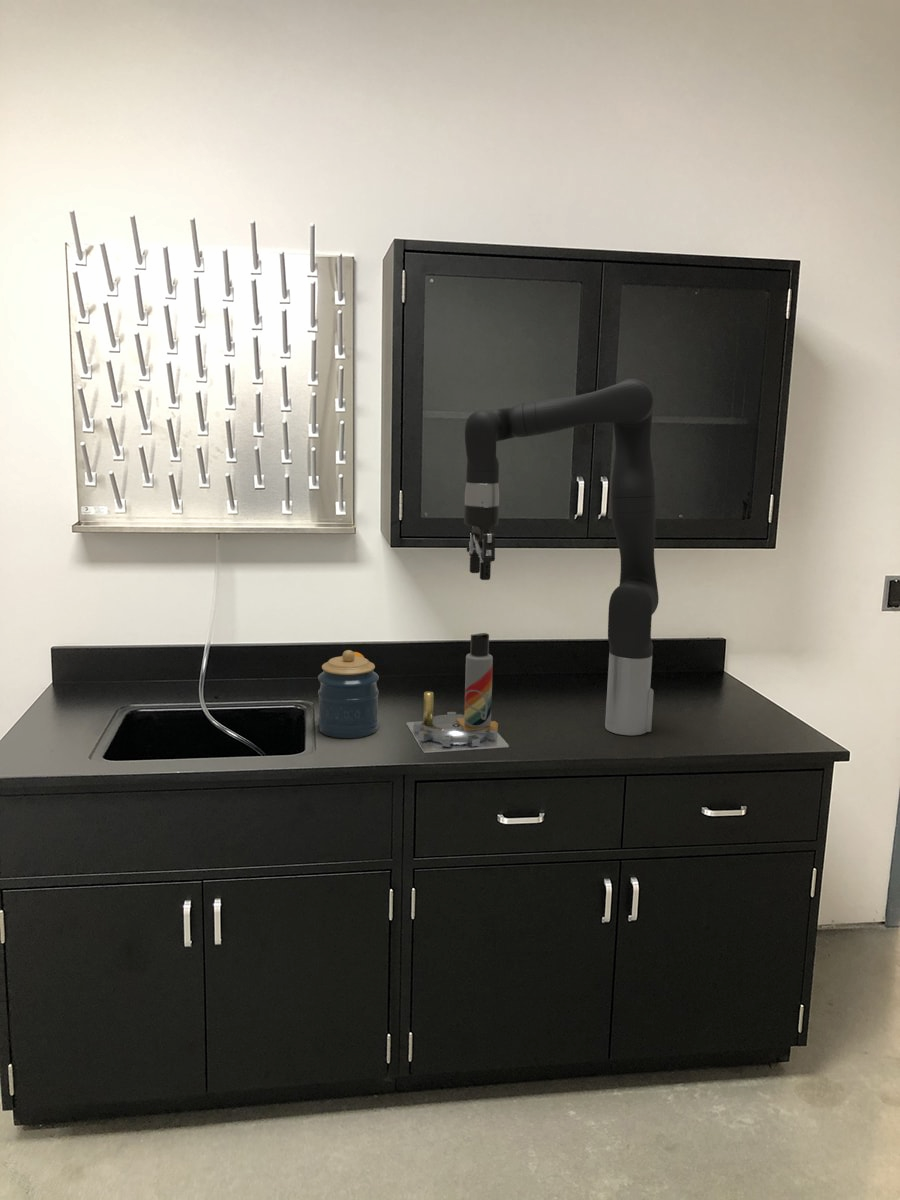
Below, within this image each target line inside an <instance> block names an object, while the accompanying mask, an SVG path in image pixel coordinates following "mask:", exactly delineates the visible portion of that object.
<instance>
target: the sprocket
mask: <svg viewBox="0 0 900 1200" xmlns="http://www.w3.org/2000/svg"><path fill="white" fill-rule="evenodd" d="M422 716H423V717H422V721H423V722H422V723H418V722H419V721H413V722H414V725H413V732H419V739H420V740H422V741H427V740H432V741H435V742H439V743H442V746H446V747H450V746H451V745H452V744H469V745H471V746H472V747H473V746H479V745H480V742H481V741H484V740H486V739H490V740H495V739H496V738H497V733H499V731H498V727H499V723H498V722H497V721H496V720H491V723H490V725H489V726H488V727H484V728H473V727H469V726H467V725H465V722H464V714H459V713H458V714H457V712H456V711H447V714H440V715H434V692H433V691H424V693H423V715H422Z"/></svg>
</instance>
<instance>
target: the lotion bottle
mask: <svg viewBox="0 0 900 1200" xmlns="http://www.w3.org/2000/svg"><path fill="white" fill-rule="evenodd" d="M489 647H490V635H489V633H487V632H482V633H481V632H480V633H475V634H470V653H467V654H466V656H465V677H464V678H465V679H464V681H465V682H464V683H465V684H464V710H463V711H464V714H463V715H464V722H465V725H467V726H469V727H473V728H484V727H488V726H489V725H490V723H491V721H492V698H493V694H492V693H493V660H494V659H493V655H492V654H490V653H489V652H490V651H489V650H490V648H489Z"/></svg>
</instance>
